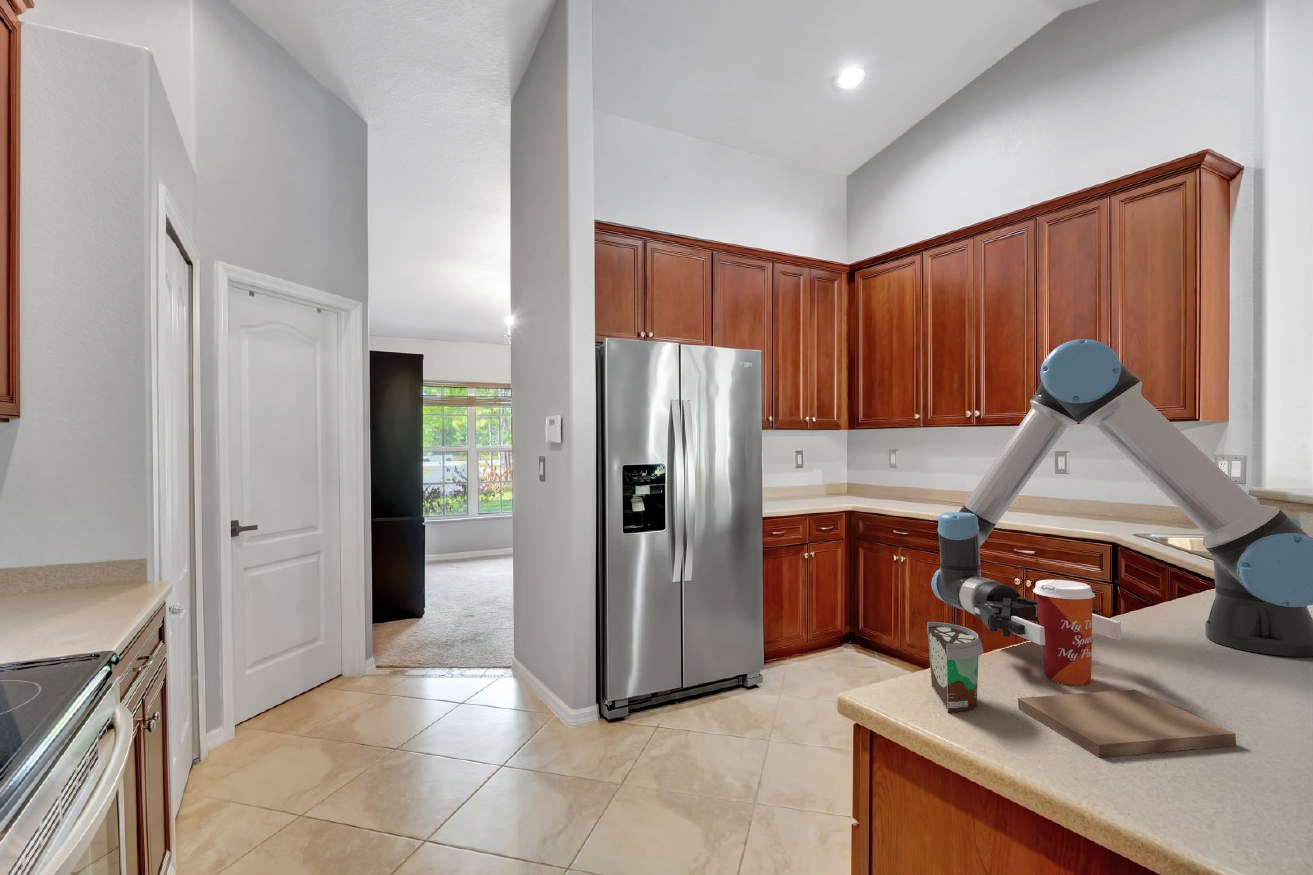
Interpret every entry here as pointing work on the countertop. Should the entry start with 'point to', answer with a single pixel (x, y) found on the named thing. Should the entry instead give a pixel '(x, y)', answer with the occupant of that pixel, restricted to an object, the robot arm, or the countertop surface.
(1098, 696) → the walnut board
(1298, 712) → the countertop surface
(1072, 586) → the coffee cup
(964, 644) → the food container
